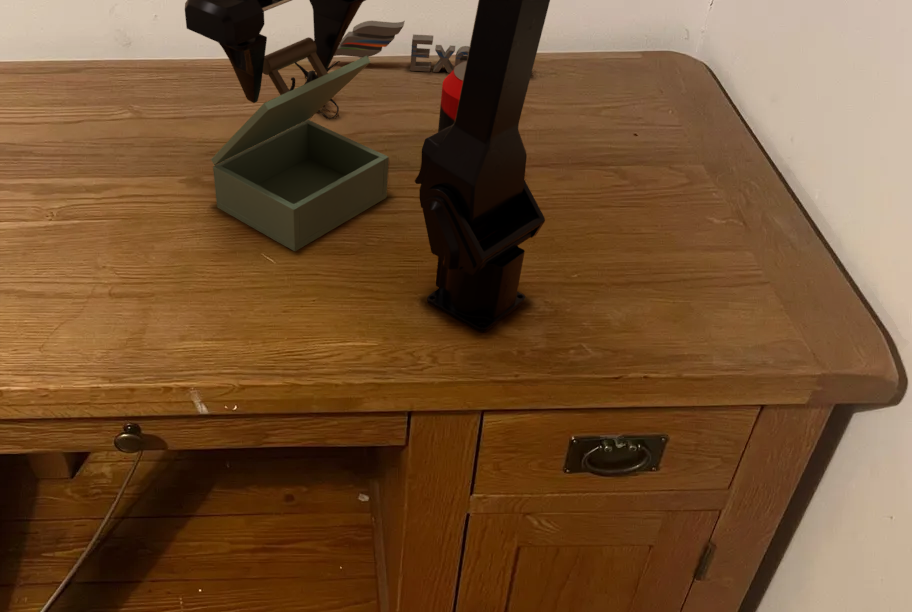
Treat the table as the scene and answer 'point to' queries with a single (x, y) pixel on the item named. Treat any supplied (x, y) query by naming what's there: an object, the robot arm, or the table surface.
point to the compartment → (301, 183)
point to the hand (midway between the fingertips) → (288, 84)
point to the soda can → (451, 96)
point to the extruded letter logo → (379, 34)
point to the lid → (289, 97)
